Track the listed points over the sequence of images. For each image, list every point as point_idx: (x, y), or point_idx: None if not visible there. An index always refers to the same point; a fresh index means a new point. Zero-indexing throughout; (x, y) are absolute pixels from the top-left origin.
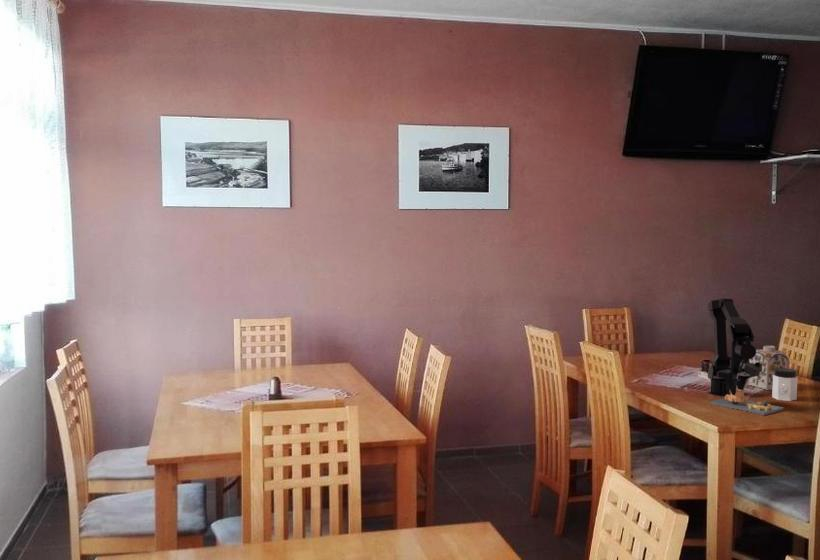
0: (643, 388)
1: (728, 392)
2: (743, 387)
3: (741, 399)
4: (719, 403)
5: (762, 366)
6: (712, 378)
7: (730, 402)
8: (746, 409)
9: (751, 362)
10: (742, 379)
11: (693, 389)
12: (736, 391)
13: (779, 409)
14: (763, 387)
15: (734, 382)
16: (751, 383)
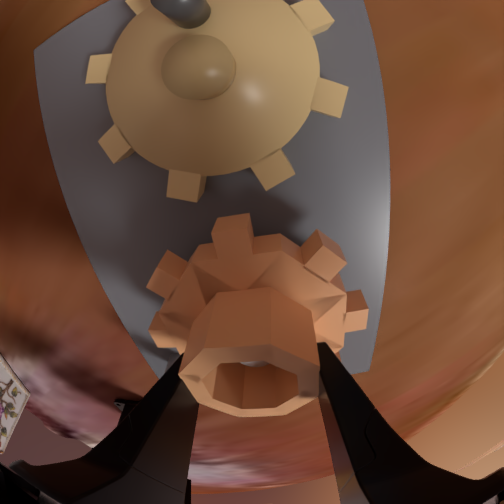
0: (326, 470)
1: (130, 408)
2: (157, 399)
3: (323, 246)
4: (377, 328)
5: None
6: (187, 485)
7: None
8: (382, 105)
9: (2, 436)
10: (142, 490)
11: (203, 452)
12: (314, 368)
13: (86, 15)
14: (1, 362)
15: (425, 466)
16: (22, 391)
